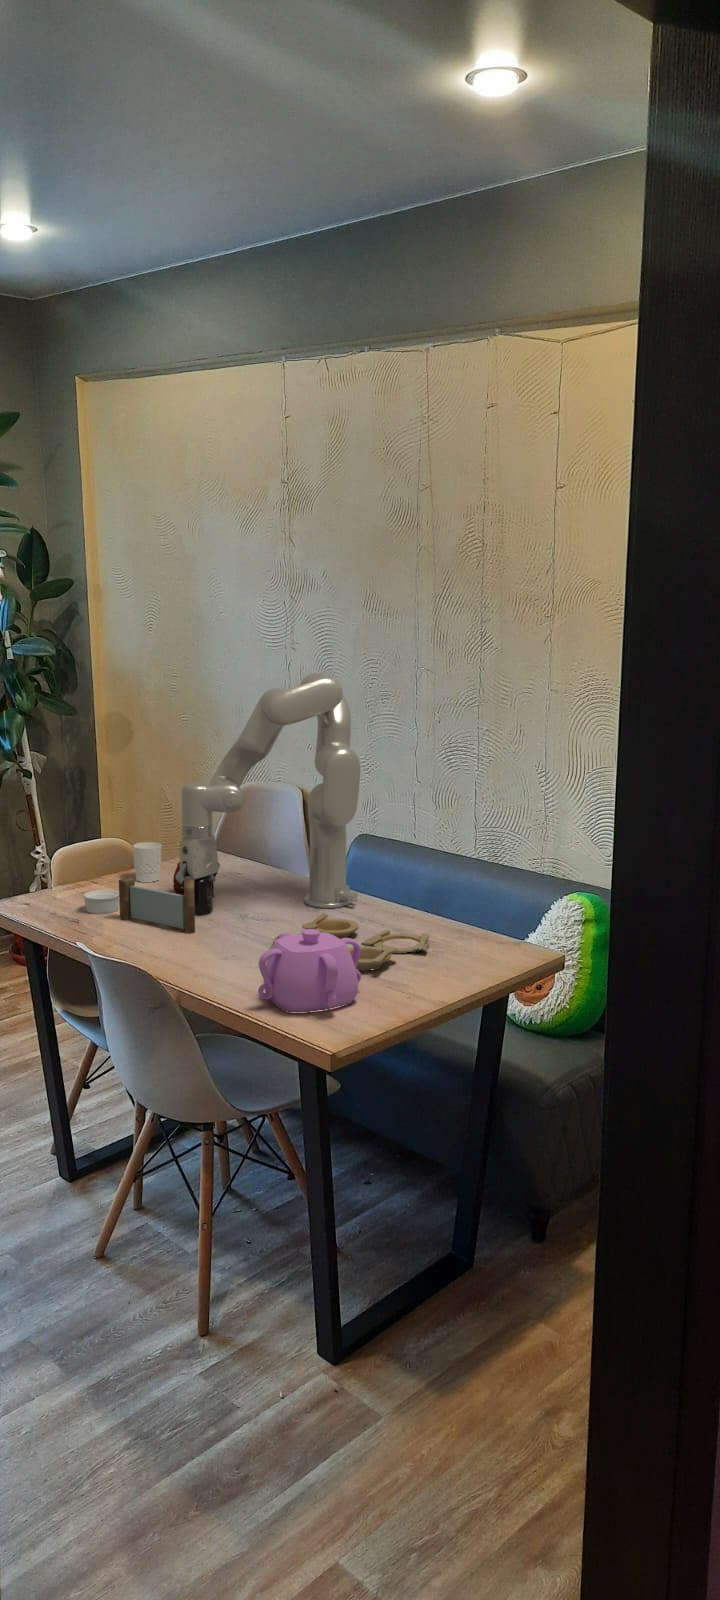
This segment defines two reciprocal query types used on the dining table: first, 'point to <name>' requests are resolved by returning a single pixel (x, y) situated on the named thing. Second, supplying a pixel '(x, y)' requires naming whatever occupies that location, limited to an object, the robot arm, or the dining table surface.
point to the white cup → (147, 861)
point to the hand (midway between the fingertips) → (198, 899)
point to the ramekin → (101, 901)
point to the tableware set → (367, 941)
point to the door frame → (189, 923)
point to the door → (157, 906)
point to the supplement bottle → (203, 896)
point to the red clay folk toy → (176, 884)
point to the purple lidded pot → (310, 971)
